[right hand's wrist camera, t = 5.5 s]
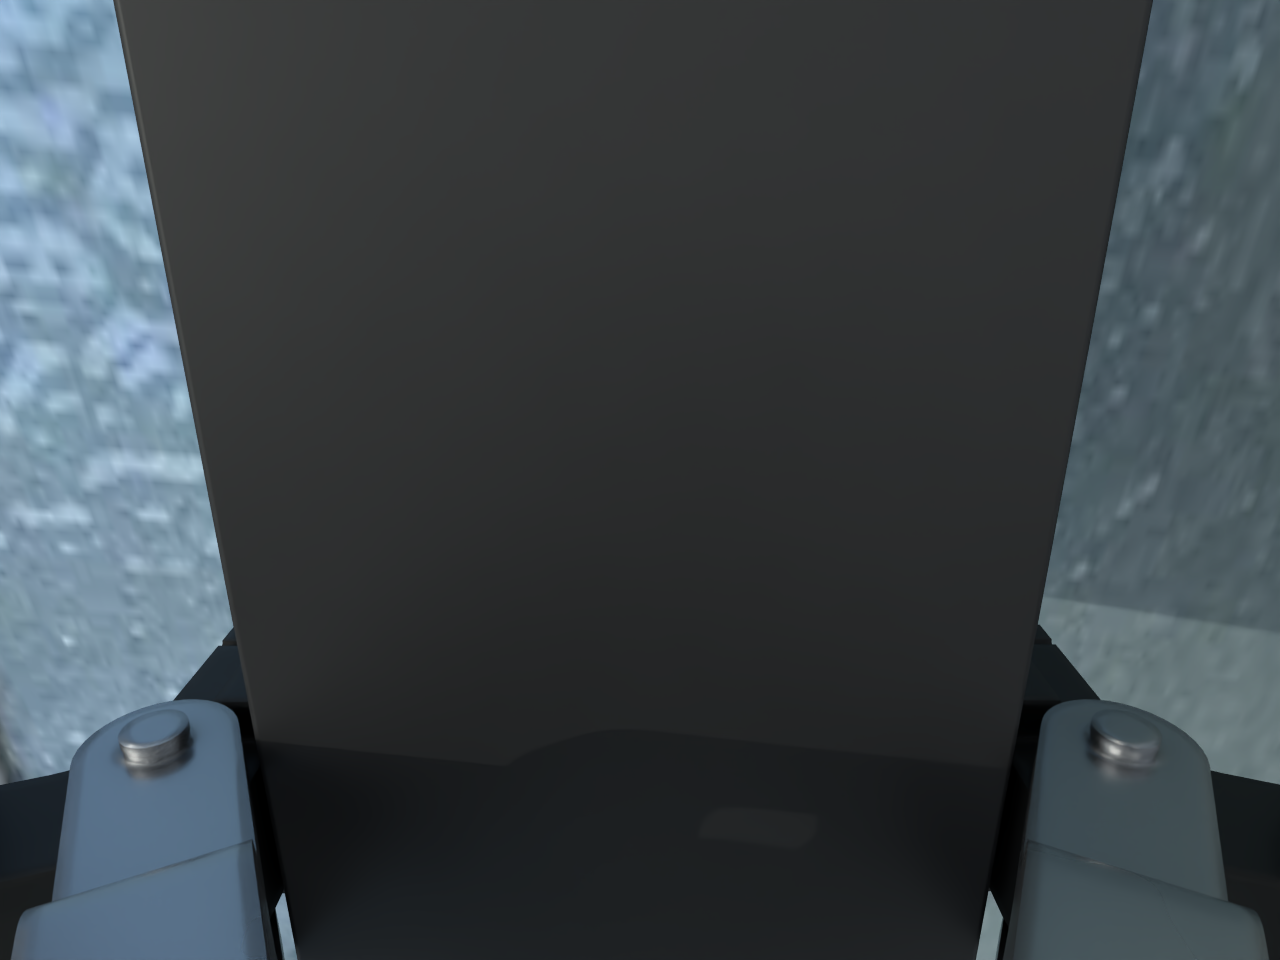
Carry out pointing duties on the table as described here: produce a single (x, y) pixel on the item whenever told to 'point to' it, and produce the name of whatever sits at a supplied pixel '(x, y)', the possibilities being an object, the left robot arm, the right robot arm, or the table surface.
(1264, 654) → the table surface
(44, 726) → the table surface
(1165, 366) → the table surface
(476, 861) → the box
